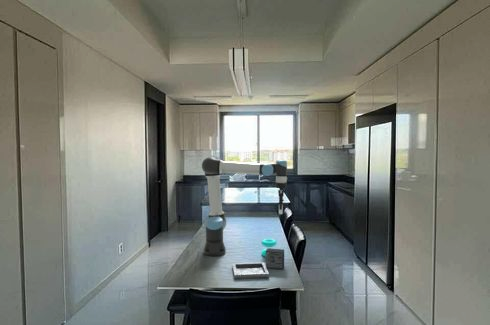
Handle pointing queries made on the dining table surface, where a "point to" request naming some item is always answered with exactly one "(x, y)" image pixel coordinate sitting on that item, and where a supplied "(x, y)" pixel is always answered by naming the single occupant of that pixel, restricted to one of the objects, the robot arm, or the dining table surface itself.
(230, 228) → the dining table surface
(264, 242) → the donuts
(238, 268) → the tray
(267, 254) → the small box
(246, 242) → the dining table surface
